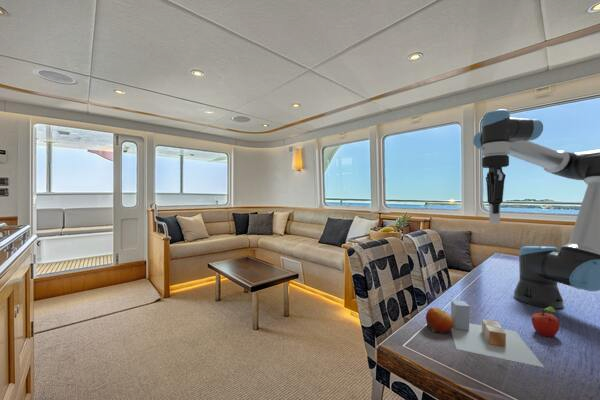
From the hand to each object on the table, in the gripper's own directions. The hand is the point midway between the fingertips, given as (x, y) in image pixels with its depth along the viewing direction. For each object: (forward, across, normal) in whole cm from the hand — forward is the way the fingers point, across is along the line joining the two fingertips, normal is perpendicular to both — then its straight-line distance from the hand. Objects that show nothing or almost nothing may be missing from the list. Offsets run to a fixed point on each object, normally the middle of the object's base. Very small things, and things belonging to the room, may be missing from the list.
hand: (494, 222), depth 89 cm
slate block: (+34, +12, -12) cm, 38 cm away
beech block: (+32, +20, -4) cm, 38 cm away
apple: (+35, +6, +12) cm, 37 cm away
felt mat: (+34, +17, -6) cm, 39 cm away
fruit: (+35, +16, -18) cm, 42 cm away
